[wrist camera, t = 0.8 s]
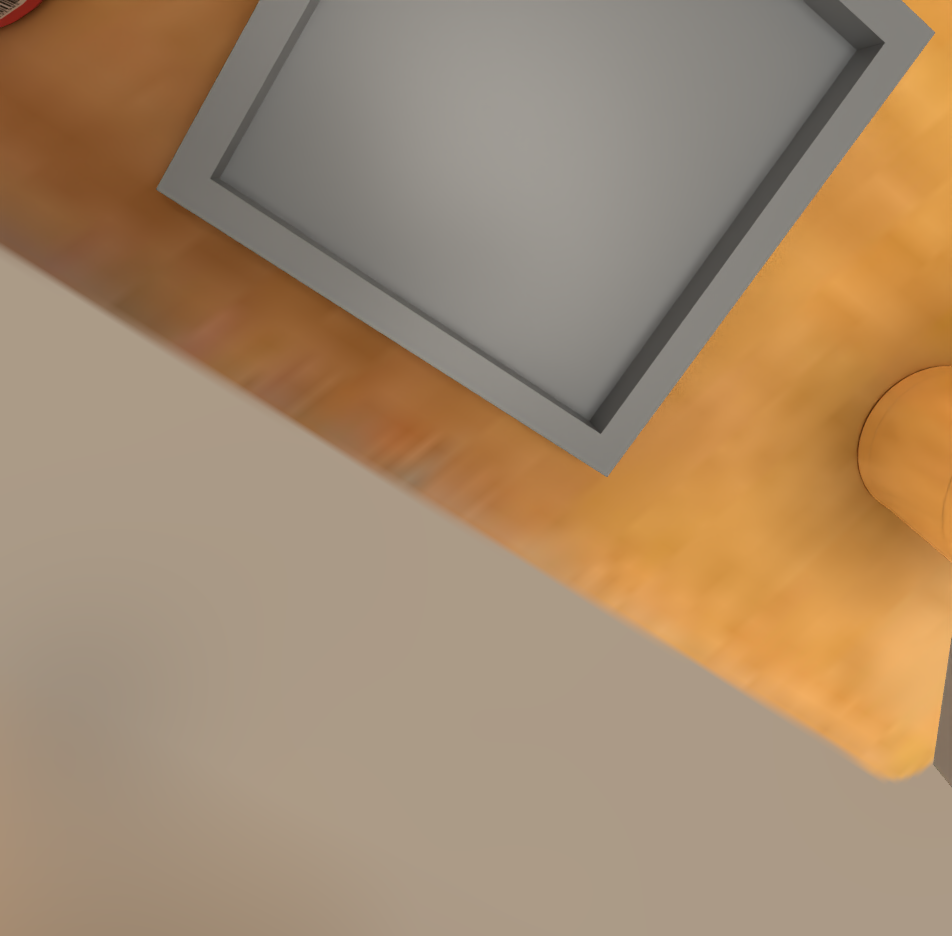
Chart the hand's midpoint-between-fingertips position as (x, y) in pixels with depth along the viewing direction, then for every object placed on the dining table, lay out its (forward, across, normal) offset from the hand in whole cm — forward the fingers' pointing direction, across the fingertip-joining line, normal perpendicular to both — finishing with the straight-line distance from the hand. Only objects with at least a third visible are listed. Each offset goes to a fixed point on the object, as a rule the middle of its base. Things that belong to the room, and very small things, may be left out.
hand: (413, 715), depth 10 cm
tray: (+23, +4, +7) cm, 25 cm away
